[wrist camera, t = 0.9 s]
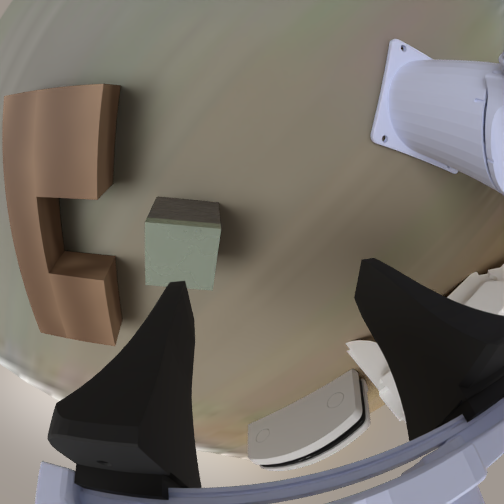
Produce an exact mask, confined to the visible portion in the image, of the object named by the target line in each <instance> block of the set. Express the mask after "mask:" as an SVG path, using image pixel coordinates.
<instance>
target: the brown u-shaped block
mask: <svg viewBox="0 0 504 504" xmlns="http://www.w3.org/2000/svg"><path fill="white" fill-rule="evenodd" d="M120 87H121V86H120V85H110V84H92V85H78V86H67V87H57V88H49V89H42V90H35V91H29V92H23V93H18V94H13V95H8V96H4V106H3V168H4V181H5V192H6V200H7V208H8V214H9V221H10V226H11V232H12V237H13V242H14V247H15V251H16V255H17V260H18V264H19V267H20V271H21V275H22V279H23V282H24V285H25V289H26V292H27V295H28V298H29V301H30V304H31V307H32V310H33V313H34V316H35V319H36V321H37V324H38V327H39V329H40V332H41V333H45V334H50V335H55V336H59V337H64V338H70V339H75V340H80V341H86V342H92V343H98V344H104V345H111V346H115V345H116V341H117V337H118V334H119V330H120V326H121V323H122V314H121V307H120V299H119V291H118V281H117V271H116V259H115V256H109V255H99V254H89V253H80V252H70V251H65V249H64V242H63V235H62V227H61V218H60V207H59V198H74V199H92V200H98V199H99V198H100V196H101V195H102V194H103V193H104V192H105V191H106V190H107V189H108V188H109V187H110V186H111V185H112V184H113V172H114V149H115V134H116V122H117V112H118V103H119V95H120Z"/></svg>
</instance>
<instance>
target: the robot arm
mask: <svg viewBox="0 0 504 504" xmlns="http://www.w3.org/2000/svg"><path fill="white" fill-rule="evenodd" d="M401 46H402V47H403V51H402V50H401ZM499 63H500V64H499ZM499 63H491V62H480V61H465V60H433V59H432V58H430V57H428V56H427V55H425V54H423V53H422V52H420V51H418V50H417V49H415V48H413V47H411V46H410V45H408V44H406V43H404V42H402V41H400V40H398V39H393V40H391V41H390V43H389V49H388V55H387V61H386V66H385V71H384V77H383V82H382V87H381V91H380V96H379V101H378V105H377V110H376V114H375V118H374V122H373V127H372V131H371V136H370V137H371V140H372V141H373V142H374V143H377V144H380V145H383V146H385V147H388V148H391V149H394V150H397V151H400V152H402V153H405V154H408V155H410V156H413V157H416V158H418V159H421V160H423V161H426V162H428V163H430V164H433V165H435V166H438V167H440V168H442V169H444V170H447V171H449V172H451V173H453V174H456V173H457V172H458V171H460V172H462V173H464V174H466V175H468V176H470V177H472V178H474V179H476V180H478V181H480V182H482V183H484V184H485V185H487V186H489V187H491V188H493V189H495V190H496V191H498V192H500V193H502V194H503V195H504V51H503V53H502V54H501V55H500V56H499ZM383 136H385V140H384V141H382V137H383ZM354 298H355V301H356V303H357V306H358V308H359V311H360V313H361V315H362V318H363V319H364V321H365V323H366V325H367V327H368V328H369V330H370V332H371V334H372V335H373V337H374V339H375V341H376V342H377V344H378V346H379V348H380V349H381V351H382V353H383V355H384V357H385V359H386V361H387V363H388V366H389V368H390V371H391V373H392V376H393V378H394V381H395V384H396V387H397V390H398V393H399V396H400V400H401V403H402V407H403V411H404V415H405V419H406V424H407V429H408V435H409V442H407V443H405V444H403V445H401V446H398V447H395V448H393V449H391V450H388V451H385V452H383V453H380V454H377V455H375V456H372V457H369V458H366V459H363V460H360V461H357V462H354V463H351V464H348V465H344V466H341V467H338V468H334V469H330V470H327V471H323V472H319V473H315V474H310V475H306V476H301V477H296V478H291V479H286V480H280V481H274V482H267V483H260V484H253V485H243V486H232V487H217V488H201V482H200V477H199V470H198V463H197V455H196V447H195V439H194V428H193V415H192V398H191V396H192V375H193V361H194V348H195V328H194V317H193V312H192V308H191V304H190V300H189V295H188V291H187V286H186V282H185V281H177V282H170V283H169V284H168V285H167V287H166V289H165V290H164V292H163V294H162V295H161V297H160V298H159V300H158V302H157V303H156V305H155V306H154V308H153V309H152V311H151V312H150V314H149V315H148V317H147V318H146V320H145V321H144V323H143V324H142V325H141V327H140V328H139V329H138V331H137V332H136V334H135V335H134V336H133V337H132V339H131V340H130V341H129V342H128V344H127V345H126V346H125V347H124V348H123V349H122V350H121V352H120V353H119V354H118V355H117V356H116V357H115V358H114V359H113V360H112V361H111V362H109V363H108V364H107V365H106V366H105V367H104V368H103V369H102V370H101V371H100V372H99V373H98V374H96V375H95V376H94V377H93V378H92V379H90V380H89V381H88V382H87V383H85V384H84V385H83V386H81V387H80V388H79V389H77V390H76V391H74V392H73V393H71V394H70V395H68V396H67V397H65V398H64V399H62V400H61V401H59V402H58V403H56V406H55V409H54V413H53V416H52V420H51V424H50V428H49V433H48V441H49V442H50V444H51V445H52V446H53V447H54V448H55V449H56V450H57V451H59V452H60V453H62V454H63V455H64V456H66V457H67V458H69V459H70V460H72V461H73V462H74V463H76V464H77V465H76V471H74V470H71V469H69V468H66V467H61V466H58V465H54V464H51V463H47V462H44V461H42V462H41V464H40V470H39V476H38V483H37V491H36V499H35V504H270V503H276V502H282V501H288V500H293V499H299V498H303V497H308V496H312V495H316V494H320V493H324V492H328V491H332V490H335V489H339V488H342V487H346V486H349V485H352V484H355V483H358V482H361V481H364V480H367V479H369V478H372V477H375V476H378V475H380V474H383V473H385V472H388V471H390V470H393V469H395V468H397V467H400V466H402V465H404V464H406V463H408V462H411V461H413V460H415V459H417V458H419V457H421V456H423V455H425V454H427V453H429V452H431V451H433V450H435V449H437V448H438V447H439V448H438V449H437V450H435V451H433V452H432V453H430V454H428V455H426V456H425V457H423V458H422V459H421V460H420V462H418V463H417V464H416V465H414V466H413V467H411V468H410V469H408V470H407V471H405V472H404V473H402V475H401V476H400V477H398V478H395V479H393V480H391V481H388V482H386V483H383V484H381V485H378V486H376V487H373V488H371V489H368V490H365V491H362V492H360V493H357V494H354V495H351V496H348V497H345V498H342V499H339V500H336V501H332V502H329V503H326V504H485V502H484V500H483V497H482V495H481V493H480V490H479V487H478V484H479V483H481V482H482V481H483V480H484V479H485V477H486V475H487V470H486V469H487V468H488V467H489V466H490V465H492V464H493V463H494V462H495V461H496V460H497V459H498V458H499V457H500V456H502V454H504V316H502V315H497V314H493V313H489V312H485V311H481V310H478V309H475V308H472V307H469V306H466V305H463V304H461V303H458V302H456V301H453V300H451V299H449V298H447V297H444V296H442V295H440V294H438V293H436V292H434V291H432V290H430V289H428V288H427V287H425V286H423V285H421V284H419V283H417V282H416V281H414V280H412V279H411V278H409V277H407V276H405V275H404V274H402V273H400V272H399V271H397V270H395V269H394V268H392V267H390V266H388V265H387V264H385V263H383V262H381V261H379V260H377V259H375V258H370V259H363V260H362V261H361V266H360V272H359V277H358V282H357V287H356V292H355V297H354Z"/></svg>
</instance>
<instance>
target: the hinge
mask: <svg viewBox="0 0 504 504" xmlns="http://www.w3.org/2000/svg"><path fill="white" fill-rule="evenodd" d="M367 391H368V387H367V384H366V381H365V380H364V379H363V378H362V379H361V380H360V379H359V376H358V372H357V371H355V370H353V369H351V370H350V371H348V372H346V373H345V374H343V375H342V376H340V377H338V378H337V379H335V380H333V381H332V382H330V383H328V384H327V385H325V386H323V387H321V388H320V389H318V390H316V391H314V392H313V393H311V394H309V395H307V396H305V397H303V398H302V399H300V400H298V401H296V402H294V403H292V404H290V405H288V406H286V407H284V408H282V409H280V410H278V411H276V412H274V413H272V414H270V415H268V416H266V417H264V418H262V419H259V420H257V421H255V422H253V423H251V424H248V458H249V459H250V460H251V461H252V462H253V463H254V464H257V465H260V467H261V468H263V469H266V470H269V471H283V470H291V469H296V468H300V467H304V466H307V465H310V464H313V463H316V462H318V461H320V460H323V459H325V458H327V457H329V456H331V455H333V454H334V453H336V452H338V451H339V450H341V449H342V448H344V447H346V446H347V445H348V444H350V443H351V442H352V441H353V440H355V439H356V438H357V437H359V436H360V435H361V434H362V433H363V432H364V431H365V430H366V429H367V428H368V427H369V425H370V413H369V404H368V397H367Z"/></svg>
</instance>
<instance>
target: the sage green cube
mask: <svg viewBox="0 0 504 504" xmlns="http://www.w3.org/2000/svg"><path fill="white" fill-rule="evenodd" d="M220 234H221V222H220V212H219V203H218V202H208V201H198V200H188V199H177V198H166V197H157V198H156V200H155V202H154V204H153V206H152V208H151V210H150V213H149V215H148V217H147V219H146V221H145V280H146V285H154V286H165V287H167V285H168V284H169V283H170V282H177V281H185V282H186V286H187V288H188V289H201V290H213V285H214V277H215V270H216V262H217V255H218V248H219V241H220Z"/></svg>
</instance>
